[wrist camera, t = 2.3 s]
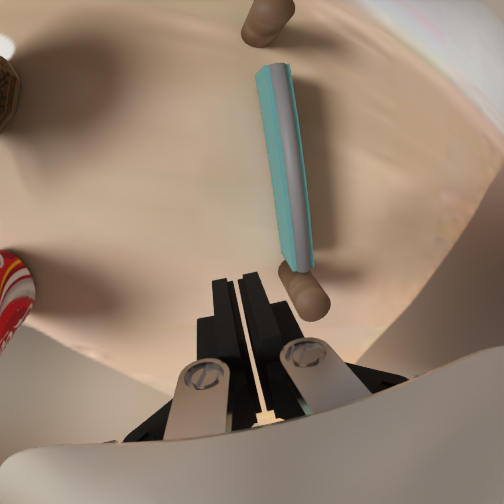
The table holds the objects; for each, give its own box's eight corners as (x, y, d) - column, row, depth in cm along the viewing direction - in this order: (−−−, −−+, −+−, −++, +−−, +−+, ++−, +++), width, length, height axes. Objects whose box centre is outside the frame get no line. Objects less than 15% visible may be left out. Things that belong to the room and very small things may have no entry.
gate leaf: (255, 75, 20) (265, 64, 16) (276, 73, 20) (291, 62, 16) (281, 253, 25) (295, 274, 22) (300, 249, 25) (316, 270, 22)
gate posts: (238, 21, 18) (250, -10, 13) (270, 19, 19) (291, -11, 13) (279, 285, 27) (299, 325, 21) (306, 279, 27) (331, 317, 22)
